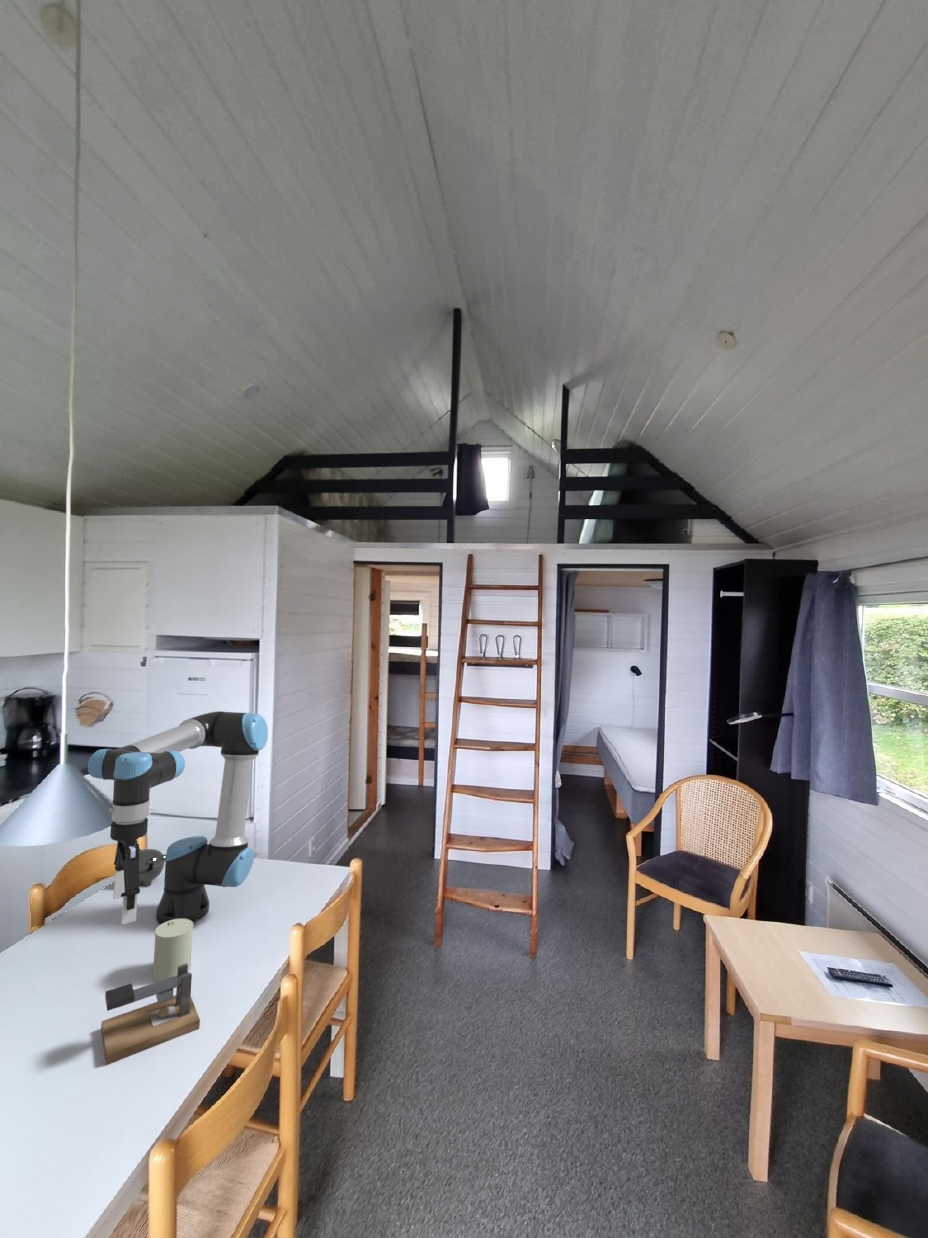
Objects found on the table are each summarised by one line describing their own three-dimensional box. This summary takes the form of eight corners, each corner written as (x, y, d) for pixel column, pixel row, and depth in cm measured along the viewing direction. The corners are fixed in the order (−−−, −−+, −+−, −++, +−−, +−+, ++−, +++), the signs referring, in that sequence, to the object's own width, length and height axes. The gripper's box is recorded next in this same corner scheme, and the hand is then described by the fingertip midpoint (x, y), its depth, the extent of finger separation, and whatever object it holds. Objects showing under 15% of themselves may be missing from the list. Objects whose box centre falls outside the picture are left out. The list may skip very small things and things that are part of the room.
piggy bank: (124, 877, 192) (126, 845, 193) (170, 874, 196) (172, 843, 196) (112, 892, 181) (114, 858, 182) (160, 888, 185) (162, 855, 185)
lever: (104, 1011, 118) (105, 991, 118) (186, 983, 128) (188, 965, 129) (106, 1025, 114) (107, 1004, 114) (191, 995, 125) (192, 976, 125)
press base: (101, 1030, 121) (104, 981, 121) (188, 999, 132) (190, 954, 132) (106, 1065, 111) (109, 1012, 112) (199, 1028, 123) (202, 980, 123)
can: (184, 956, 149) (187, 913, 149) (195, 972, 142) (198, 927, 142) (147, 969, 142) (150, 924, 143) (157, 987, 136) (160, 939, 136)
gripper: (104, 807, 134) (99, 892, 133) (118, 839, 115) (112, 939, 114) (139, 802, 138) (133, 884, 138) (158, 832, 119) (152, 928, 119)
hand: (124, 909), depth 126 cm, fingers open, 13 cm apart
